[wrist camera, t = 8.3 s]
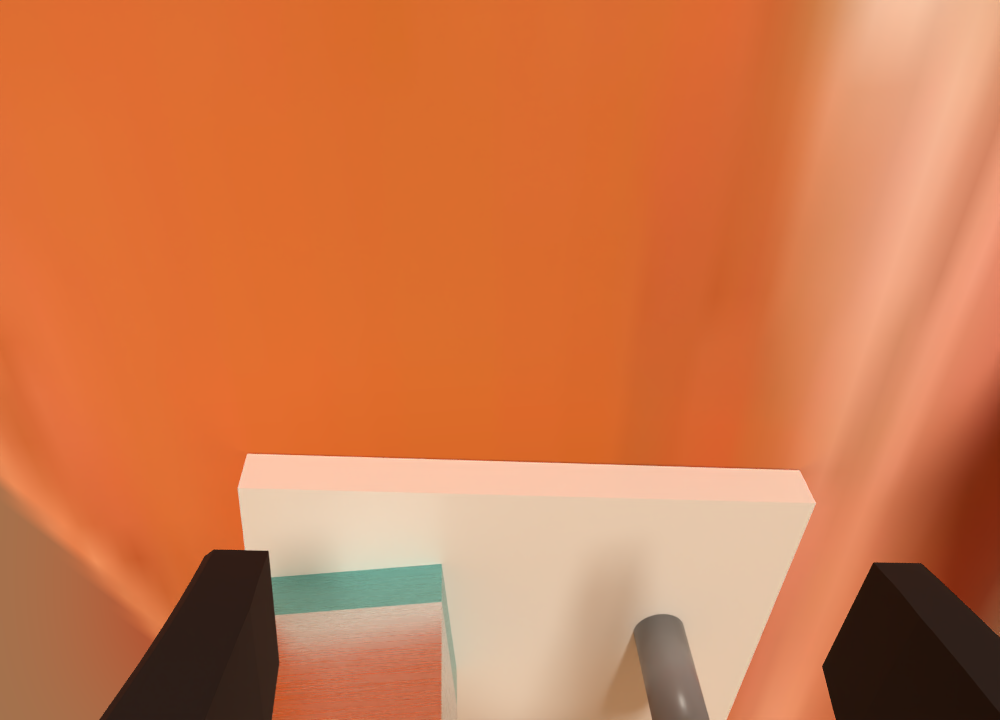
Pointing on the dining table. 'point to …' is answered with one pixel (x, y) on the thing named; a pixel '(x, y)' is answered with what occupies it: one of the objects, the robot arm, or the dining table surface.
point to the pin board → (555, 569)
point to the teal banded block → (364, 646)
